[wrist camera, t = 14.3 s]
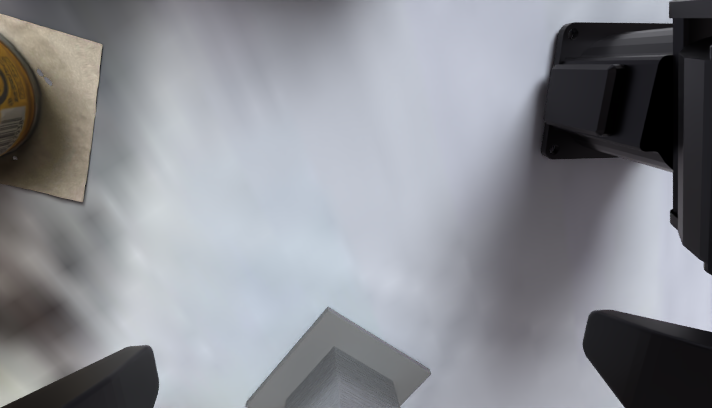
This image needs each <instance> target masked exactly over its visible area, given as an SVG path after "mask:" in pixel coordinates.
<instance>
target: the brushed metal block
mask: <svg viewBox="0 0 712 408" xmlns="http://www.w3.org/2000/svg"><path fill="white" fill-rule="evenodd" d="M286 408H400V404H399V401H398V397H397V394H396V390H395V387H394V383H393V381H392V380H391V379H389V378H387V377H385V376H384V375H382V374H380V373H379V372H377V371H375V370H374V369H372V368H370V367H369V366H367V365H365V364H363V363H362V362H360V361H358V360H357V359H355V358H353V357H352V356H350V355H348V354H347V353H345V352H343V351H342V350H340V349H338V348H336V347H335V346H334V347H333V348H332V349H331V350H330V351H329V352H328V353H327V354H326V356H325V357H324V358H323V359H322V360H321V361H320V362H319V363H318V364H317V366H316V367H315V368H314V369H313V370H312V371H311V372H310V373H309V375H308V376H307V377H306V378H305V379H304V380H303V381H302V382H301V383H300V385H299V386H298V387H297V388H296V389H295V390H294V391H293V392H292V394H291V395H290V396H289V397H288V398H287V399H286Z"/></svg>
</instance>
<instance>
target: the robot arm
mask: <svg viewBox="0 0 712 408" xmlns="http://www.w3.org/2000/svg"><path fill="white" fill-rule="evenodd" d="M669 18H673V24H659V23H577V22H575V23H569V24H566V25H564V26H563V27H562V28H561V29H560V31H559V34H558V40H557V47H556V54H555V60H554V67H553V68H552V70H551V74H550V81H549V87H548V94H547V101H546V107H545V114H544V120H545V126H544V133H543V140H542V146H541V153H542V155H543V156H545V157H547V158H549V159H579V158H613V157H621V158H624V159H628V160H631V161H635V162H638V163H642V164H645V165H648V166H652V167H655V168H659V169H662V170H666V171H669V172H673V209H672V210H671V211H670V223H671V224H672V225H673V226H674V227H675V228H676V229H677V230H678V233H679V236H680V239H681V242H682V244H683V246H685V247H686V248H687V249H688V250H689V251H690V252H692V253H693V254H694V255H695V256H696V257H697V258H698V259H700V260H701V261H703V262H704V270H705V271H706V272H707V273H709V274H711V275H712V0H673V1H670V2H669ZM570 30H572V31H573V36H572V38H571V39H569V37H568V33H569V31H570ZM553 145H554V146H555V149H554V151H553V152H551V153H550V148H551V147H552V146H553ZM583 349H584V352H585V355H586V356H587V358H588V359H589V361H590V362H591V363H592V365H593V366H594V367H595V369H596V370H597V371H598V373H599V374H600V375H601V377H602V378H603V379H604V381H605V382H606V383H607V385H608V386H609V387H610V389H611V390H612V391H613V393H614V394H615V395H616V397H617V398H618V399H619V401H620V402H621V403H622V404H623V406H624V407H625V408H712V332H709V331H704V330H700V329H695V328H691V327H686V326H682V325H677V324H673V323H668V322H664V321H659V320H655V319H650V318H646V317H641V316H637V315H632V314H628V313H623V312H619V311H614V310H597V311H593V312H591V313H590V315H589V317H588V320H587V325H586V330H585V334H584V339H583ZM158 390H159V378H158V373H157V368H156V363H155V358H154V353H153V350H152V348H151V347H150V346H148V345H142V346H130V347H126V348H124V349H122V350H120V351H118V352H116V353H114V354H111V355H109V356H107V357H105V358H103V359H101V360H99V361H97V362H95V363H93V364H91V365H89V366H87V367H84V368H82V369H80V370H78V371H76V372H74V373H72V374H70V375H68V376H66V377H64V378H62V379H59V380H57V381H55V382H53V383H51V384H49V385H47V386H45V387H43V388H41V389H39V390H37V391H34V392H32V393H30V394H28V395H26V396H24V397H22V398H20V399H18V400H16V401H14V402H12V403H9V404H7V405H5V406H3V407H1V408H153V407H154V404H155V401H156V398H157V395H158Z"/></svg>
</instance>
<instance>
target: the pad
mask: <svg viewBox="0 0 712 408" xmlns="http://www.w3.org/2000/svg"><path fill="white" fill-rule="evenodd" d="M334 346H335V347H336V348H338V349H340V350H342V351H343V352H345V353H347V354H348V355H350V356H352V357H353V358H355V359H357V360H358V361H360V362H362V363H363V364H365V365H367V366H369V367H370V368H372V369H374V370H375V371H377V372H379V373H380V374H382V375H384V376H385V377H387V378H389V379H391V380H392V381H393V383H394V387H395V390H396V394H397V397H398V401H399V404H400V406H401V405H402V404H403V403H404V402H405V400H406V399H407V398H408V397H409V396H410V395H411V394H412V393H413V392H414V391H415V390H416V389H417V388H418V387H419V386H420V385H421V384H422V383H423V382H424V381H425V380H426V379H427V378H428V377H429V376H430V375H431V372H430V370H429V369H428V368H426V367H425V366H423V365H422V364H420V363H418V362H417V361H415V360H413V359H412V358H410V357H409V356H407V355H405V354H404V353H402V352H400V351H399V350H397V349H396V348H394V347H392V346H391V345H389V344H387V343H386V342H384V341H383V340H381V339H379V338H378V337H376V336H374V335H373V334H371V333H370V332H368V331H366V330H365V329H363V328H361V327H360V326H358V325H357V324H355V323H353V322H352V321H350V320H348V319H347V318H345V317H344V316H342V315H340V314H339V313H337V312H335V311H334V310H332V309H331V308H329V307H327V309H326V310H325V311H324V312H323V313H322V314H321V316H320V317H319V318H318V319H317V320H316V321H315V323H314V324H313V325H312V326H311V327H310V328H309V330H308V331H307V332H306V333H305V334H304V335H303V337H302V338H301V339H300V340H299V341H298V342H297V344H296V345H295V346H294V347H293V348H292V349H291V351H290V352H289V353H288V354H287V355H286V356H285V358H284V359H283V360H282V361H281V362H280V363H279V365H278V366H277V367H276V368H275V369H274V370H273V372H272V373H271V374H270V375H269V376H268V377H267V379H266V380H265V381H264V382H263V383H262V384H261V386H260V387H259V388H258V389H257V390H256V391H255V393H254V394H253V395H252V396H251V397H250V398H249V400H248V401H247V404H246V407H247V408H286V399H287V398H288V397H289V396H290V395H291V394H292V392H293V391H294V390H295V389H296V388H297V387H298V386H299V385H300V383H301V382H302V381H303V380H304V379H305V378H306V377H307V376H308V375H309V373H310V372H311V371H312V370H313V369H314V368H315V367H316V366H317V364H318V363H319V362H320V361H321V360H322V359H323V358H324V357H325V356H326V354H327V353H328V352H329V351H330V350H331V349H332V348H333V347H334Z"/></svg>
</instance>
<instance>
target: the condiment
mask: <svg viewBox="0 0 712 408" xmlns="http://www.w3.org/2000/svg"><path fill="white" fill-rule="evenodd" d="M101 51H102V44H99V43H96V42H93V41H89V40H86V39H82V38H79V37H76V36H73V35H69V34H66V33H63V32H59V31H56V30H52V29H49V28H46V27H42V26H39V25H35V24H33V23H29V22H26V21H22V20H19V19H16V18H13V17H9V16H6V15H3V14H0V184H5V185H11V186H16V187H20V188H23V189H29V190H34V191H38V192H42V193H46V194H50V195H53V196H57V197H60V198H66V199H71V200H75V201H80V202H83V197H84V189H85V184H86V180H87V171H88V165H89V154H90V150H91V143H92V134H93V125H94V118H95V113H96V96H97V88H98V83H99V75H100V74H99V70H100V60H101ZM37 68H38V69H40V70H41V72H42V73H43V74H44V75H43V77H42V76H39V75H38V73H37ZM44 77H47V78H49V79H50V80H51V81H52V86H50V85H49V84H47V83H46V82H45V80H44ZM13 156H16V157H17V159H18V160H12V159H13Z"/></svg>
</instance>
